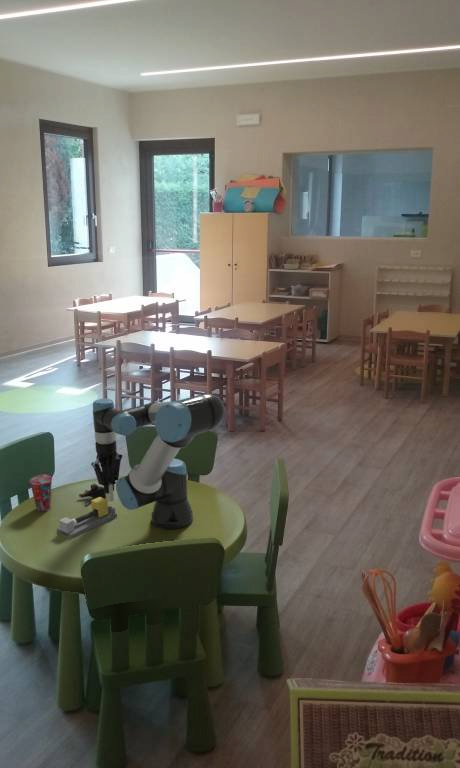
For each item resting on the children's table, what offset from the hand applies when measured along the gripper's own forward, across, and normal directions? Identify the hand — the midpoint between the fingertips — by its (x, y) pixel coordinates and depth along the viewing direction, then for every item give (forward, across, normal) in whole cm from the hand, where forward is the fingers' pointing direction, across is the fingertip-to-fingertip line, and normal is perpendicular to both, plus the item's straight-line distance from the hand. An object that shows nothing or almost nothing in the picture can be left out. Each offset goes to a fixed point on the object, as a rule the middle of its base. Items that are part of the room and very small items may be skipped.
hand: (109, 499), depth 258 cm
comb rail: (+5, +11, 0) cm, 12 cm away
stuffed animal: (+6, -4, -16) cm, 17 cm away
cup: (+6, +14, -24) cm, 28 cm away
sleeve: (+4, +5, 0) cm, 6 cm away
